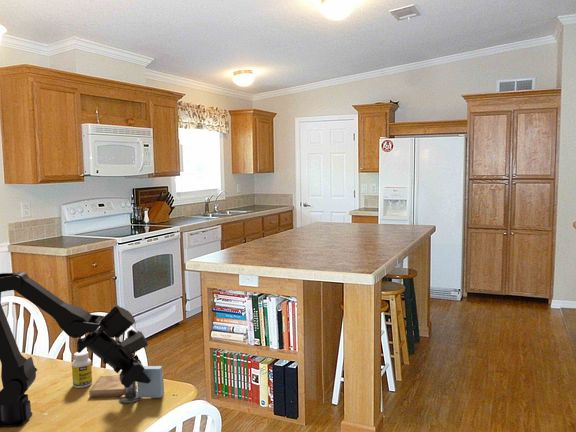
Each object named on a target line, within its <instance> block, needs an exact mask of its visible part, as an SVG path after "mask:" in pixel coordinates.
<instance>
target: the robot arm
mask: <svg viewBox="0 0 576 432" xmlns="http://www.w3.org/2000/svg"><path fill="white" fill-rule="evenodd" d="M8 291H14V292H16V293H18V294H19V295H20V296H22V297H23V298H25V300H27V301H29V302H30V303H32V304H33V305H35V306H36V307H38V308H39V309H40V310H41V311H43V312H45V313H46V314H48V315H49V316H51V318H53V320H54V321H55V322H56V324H57V326H58V327H59V328H60V329H61V330H62V331H63V332H64V333H65V334H66V335H67V336H68V337H69V338H72V339H77V338H78V339H77V341H76V344H77V345H76V346H77V352H78V353H80V352H81V351H84V349H88V350H89V351H90V352H91V353H93V354H94V355H95V356H97V358H99V359H100V360H101V361H102V363H103V364H104V365H106V364H107V365H108V366H109V367H111V368H112V369H113V371H114V372H115V373H116V374H119V375H120V381H121V383H122V385H124V386H125V387H126V388H128V387H129V386H130V385H131V384H132V383H133V382H134V381H135V382H141V383H147V384H148V383H149V382H150V381H151V380H150V378H149V377H148V376H147V375H146V373H145V372H144V367H143V366H144V365H143V364H142V361H141V359H140V358H139V356H138V355H137V354H135V353H137V352H138V351H140V350H141V349H145V348H146V347H148V345H149V343H148V341H147V339H146V337H145V335H144V333H143V332H142V331H140V330H137V331H135V330H134V329H132V328H131V327H132V326H133V325H134V324H135V323H136V319H135V317H134V316H133V315H132V313H131V312H130V311H129V310H127V309H125V308H124V307H121V306H119V305H118V304H115V305H114V306H113V307H112V308H111V310H109V312H107V314H105V315H99V314H92V313H91V312H89V311H88V310H86V309H83V308H82V307H79V306H77V305H73V304H70V303H68V302H65V301H63V300H62V299H61V298H60V297H58V296H56V294H54V293H52V291H49V290H48V289H46V288H45V287H44V286H42V285H41V284H39V283H38V282H37V281H35V280H34V279H32V277H30V276H29V275H28V274H27V273H25V272H24V271H16V272H1V273H0V364H1V369H0V372H1V373H0V379H1V384H2V389H1V390H0V428H6V427H8V428H9V427H20V426H21V427H22V426H23V425H24V424H25V423H26V422H27V421H28V420H29V419H30V417H32V415H33V412H32V408H31V406H32V405H31V400H29V394H28V393H27V394H25V393H26V392H27V391H28V390H29V388H30V387H31V386H32V385H33V383H34V382H35V380H36V378H37V373H36V372H37V371H38V368H37V367H35V365H34V359H33V357H32V356H30V357H28V358H25V356H24V355H22V354H21V351H20V348H19V347H18V344H17V341H16V338H15V337H14V334H13V332H12V329H11V326H10V324H9V322H8V319H7V316H6V314H5V311H4V309H3V306H2V301H1V300H2V293H3V292H8ZM130 328H131V329H130ZM129 329H130V330H129ZM127 330H128V331H127ZM126 331H127V334H126V337H125V339H124V340H123V341H121V340H119V339H115V338H120V337H122V335H123V334H124V333H126Z"/></svg>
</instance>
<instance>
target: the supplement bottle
mask: <svg viewBox="0 0 576 432" xmlns="http://www.w3.org/2000/svg"><path fill="white" fill-rule="evenodd" d="M89 357H90V356H89V351H87V350H82V351H81V352H80V353H78V351H76V352H74V353H73V358H74V359H73V361H72V362H71V371H72V375H71V377H72V386H73V387H74V388H77V389H82V388H86V387H88V386H90V385H92V384H93V371H92V360H91V359H90V358H89Z"/></svg>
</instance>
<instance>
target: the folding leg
mask: <svg viewBox="0 0 576 432" xmlns="http://www.w3.org/2000/svg"><path fill="white" fill-rule="evenodd" d="M143 367H144V372H145V373H146V375H147V376H148V377H149V378H150V380H151V381H150V382H149V383H148V384H147V383H141V382H137V383H136V384H137V392H138V397H142V398H148V399H149V398H155V399H156V398H157V399H158V398H162V397H163V395H164V394H163V382H164V375H163V365H143Z"/></svg>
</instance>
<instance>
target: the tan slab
mask: <svg viewBox="0 0 576 432" xmlns="http://www.w3.org/2000/svg"><path fill="white" fill-rule="evenodd" d="M136 384H137V383H136V382H135V381H134V382H133V383H132V384H131V385H130V386H129V387H128V388H126V387H125V386H124V385H122V383H121V381H120V374H117V375H114V374H113V375H99V377H98V378H97V380H96V381H95V382H94V383H93V385H92V387H90V389H89V390H88V392H89V393H88V394H89V395H88V396H89V398H101V397H103V398H105V397H119V402H120V403H121V404H133V403H137V402H138V401H140V400H142V398H143V397H138V391H137V390H138V384H137V385H136Z"/></svg>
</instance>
